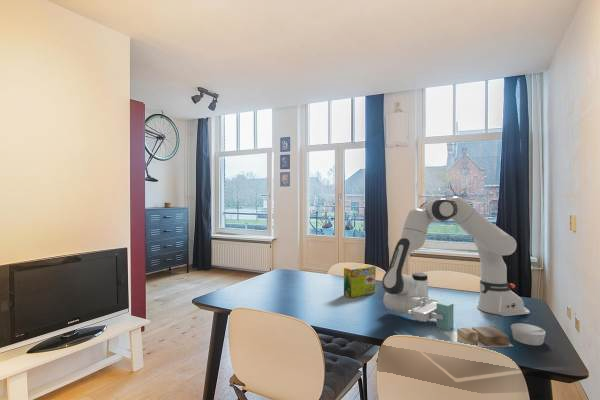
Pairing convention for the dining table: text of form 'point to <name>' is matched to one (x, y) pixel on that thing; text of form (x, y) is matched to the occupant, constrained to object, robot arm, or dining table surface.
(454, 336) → the blueprint board
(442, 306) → the teal block
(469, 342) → the oak cube
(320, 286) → the dining table surface
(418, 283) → the jar
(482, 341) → the walnut base
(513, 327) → the ramekin
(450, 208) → the robot arm
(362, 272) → the fingerpaint box
